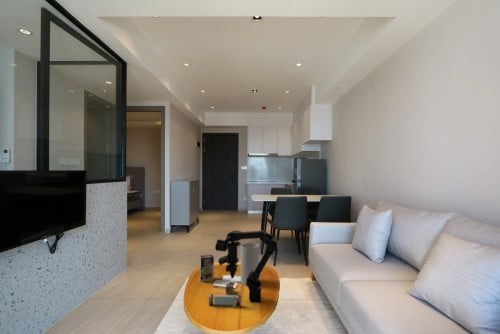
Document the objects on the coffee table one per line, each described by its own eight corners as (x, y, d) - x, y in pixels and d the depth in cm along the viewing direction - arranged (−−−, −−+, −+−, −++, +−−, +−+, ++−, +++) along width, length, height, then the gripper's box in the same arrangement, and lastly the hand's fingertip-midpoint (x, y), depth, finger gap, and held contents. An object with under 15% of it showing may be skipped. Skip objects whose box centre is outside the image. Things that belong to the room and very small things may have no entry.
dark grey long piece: (208, 307, 154) (208, 297, 154) (209, 303, 157) (209, 294, 157) (240, 307, 153) (240, 297, 154) (240, 304, 157) (240, 294, 157)
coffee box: (200, 282, 187) (200, 258, 187) (199, 278, 193) (199, 255, 193) (213, 280, 190) (214, 257, 190) (212, 277, 196) (212, 254, 196)
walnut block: (233, 291, 174) (233, 284, 174) (232, 294, 170) (233, 287, 170) (226, 291, 174) (226, 283, 174) (225, 294, 170) (225, 286, 170)
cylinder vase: (259, 279, 193) (259, 243, 193) (258, 286, 181) (258, 248, 181) (241, 278, 194) (242, 242, 195) (239, 285, 182) (239, 247, 182)
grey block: (214, 304, 155) (214, 296, 155) (214, 303, 157) (214, 294, 157) (235, 304, 155) (235, 296, 155) (235, 303, 157) (236, 295, 157)
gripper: (221, 247, 177) (221, 272, 176) (217, 257, 158) (216, 284, 158) (238, 247, 176) (238, 272, 176) (236, 257, 158) (236, 284, 158)
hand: (232, 278), depth 167 cm, fingers closed
